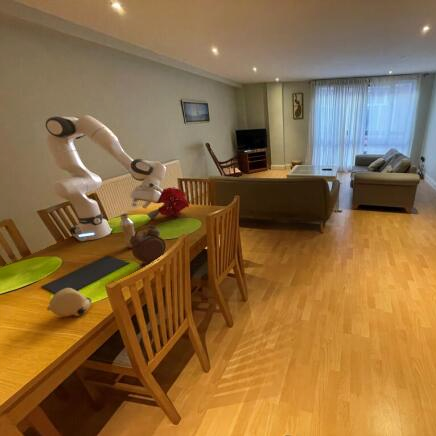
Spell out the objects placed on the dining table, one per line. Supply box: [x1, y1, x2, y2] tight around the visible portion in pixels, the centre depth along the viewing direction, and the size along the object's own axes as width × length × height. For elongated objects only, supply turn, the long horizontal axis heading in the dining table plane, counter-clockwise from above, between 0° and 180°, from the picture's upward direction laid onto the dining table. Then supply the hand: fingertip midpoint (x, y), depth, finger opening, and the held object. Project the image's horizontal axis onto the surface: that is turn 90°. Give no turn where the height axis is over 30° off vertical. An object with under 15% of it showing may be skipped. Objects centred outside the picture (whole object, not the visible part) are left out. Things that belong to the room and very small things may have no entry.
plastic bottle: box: [119, 213, 136, 249], centre depth 137 cm, size 6×7×20 cm
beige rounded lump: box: [46, 288, 93, 319], centre depth 91 cm, size 10×12×11 cm
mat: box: [41, 255, 129, 295], centre depth 116 cm, size 18×28×1 cm, turn 156°
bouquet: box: [146, 186, 190, 220], centre depth 180 cm, size 22×24×30 cm
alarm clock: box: [130, 225, 166, 266], centre depth 122 cm, size 14×7×20 cm, turn 150°
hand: (138, 206), depth 140 cm, fingers open, 8 cm apart
